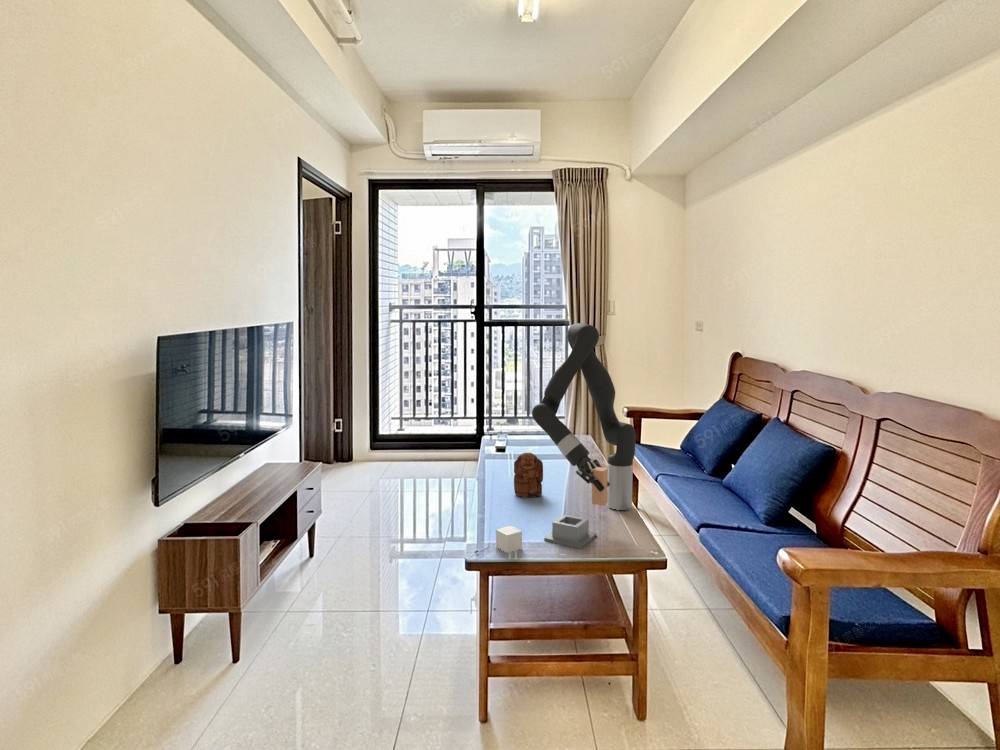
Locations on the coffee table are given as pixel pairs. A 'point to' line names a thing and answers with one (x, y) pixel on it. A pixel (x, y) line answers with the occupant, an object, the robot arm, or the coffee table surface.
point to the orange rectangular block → (602, 476)
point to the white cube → (508, 539)
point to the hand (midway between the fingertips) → (605, 488)
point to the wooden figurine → (528, 475)
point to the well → (570, 531)
